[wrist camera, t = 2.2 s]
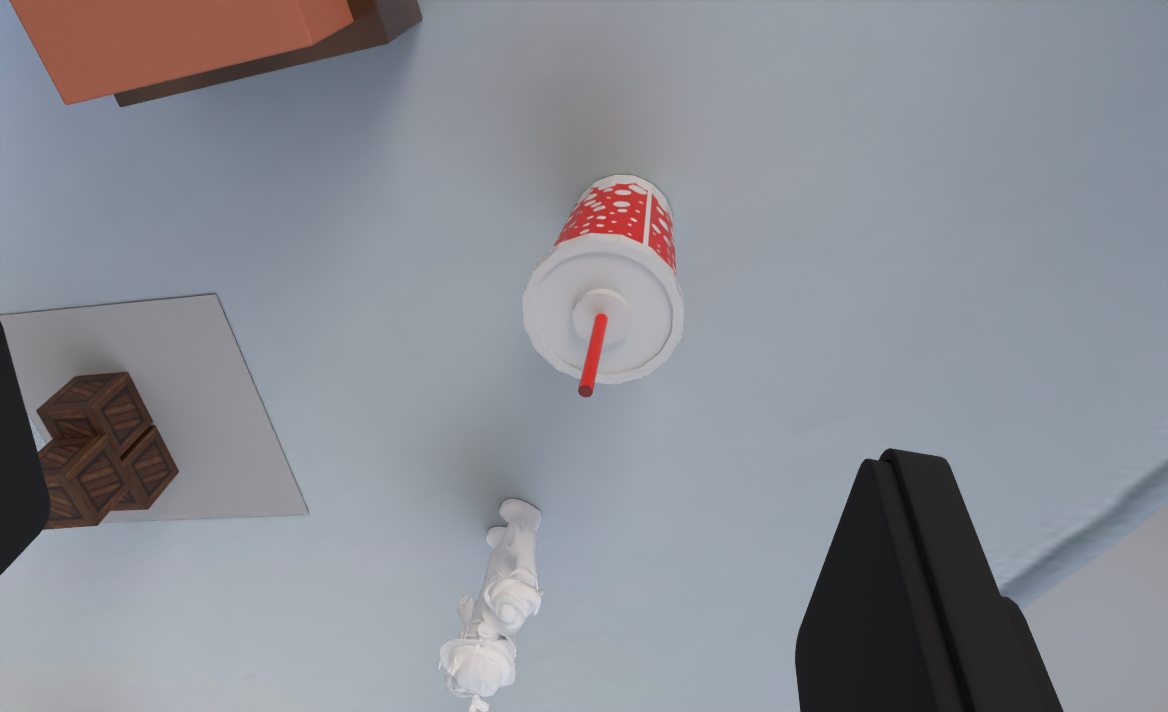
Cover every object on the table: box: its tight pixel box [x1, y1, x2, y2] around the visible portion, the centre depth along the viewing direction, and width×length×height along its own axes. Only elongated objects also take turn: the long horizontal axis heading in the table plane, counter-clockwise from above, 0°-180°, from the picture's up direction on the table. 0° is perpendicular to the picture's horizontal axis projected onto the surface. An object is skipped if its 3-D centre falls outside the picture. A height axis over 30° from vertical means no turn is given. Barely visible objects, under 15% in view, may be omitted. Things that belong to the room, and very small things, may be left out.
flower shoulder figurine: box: [438, 499, 544, 712], centre depth 46 cm, size 9×4×12 cm, turn 154°
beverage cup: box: [522, 175, 684, 397], centre depth 34 cm, size 6×6×14 cm
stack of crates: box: [0, 294, 309, 530], centre depth 47 cm, size 15×15×7 cm
